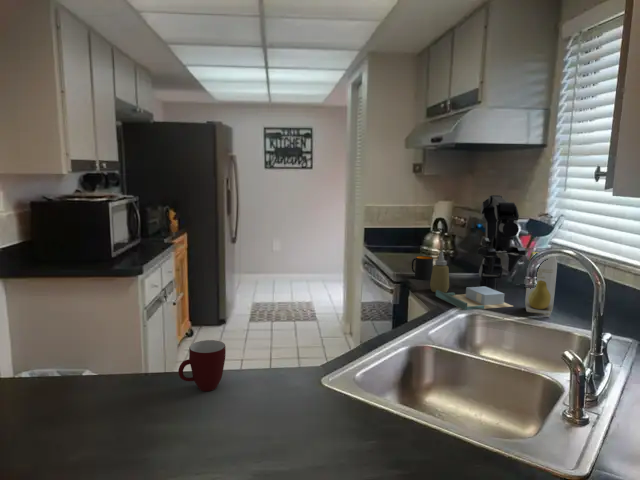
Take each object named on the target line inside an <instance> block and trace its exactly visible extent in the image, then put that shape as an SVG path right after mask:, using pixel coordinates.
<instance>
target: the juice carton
mask: <svg viewBox="0 0 640 480" xmlns="http://www.w3.org/2000/svg"><path fill="white" fill-rule="evenodd" d="M536 253H539V252H537V251H531V253H530V255H529V259H528V262H529V261H530V259H531V258H532V257H533V256H534V255H535V254H536ZM557 270H558V257H557V256H556V257H554V258H550V259H548V260H546V261H544V262H543V263H542V264H541V265H540V267H539V269H538V272H537V285H536V287H535V288H531V289H530V288H526V287H525V297H524V304H525V310H526V312H527V313H531V314H532V313H534V316H537V317H545V318H550V317H551V314H552V311H553V309H554V302H555V301H554V300H555V292H556V284H557V283H556V281H557V274H558V273H557Z"/></svg>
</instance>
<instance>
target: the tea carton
mask: <svg viewBox="0 0 640 480" xmlns="http://www.w3.org/2000/svg"><path fill="white" fill-rule="evenodd" d="M465 294H466V297H467V298H469V299H471V300H474V301H476V302H478V303H480V304H483V305H493V304H504V303H505V296H506V295H505V294H506V293H503V292H501V291H498V290H497V289H495V290H493V289H491V288H488V287H485V286H483V287H480V286H468V287H465Z"/></svg>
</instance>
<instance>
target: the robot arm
mask: <svg viewBox="0 0 640 480" xmlns="http://www.w3.org/2000/svg"><path fill="white" fill-rule="evenodd" d="M480 214H481V219H482V220H483V223H485V237H483V238H482V240H481V245H482V246H480V247H479V248H478V249H477V251H478V252H477V254H478V255H480V256H481V257H482V258H483V259H482V261H481V264H480V266H479V270H478V276H479V277H480V283H479V287H483V286H485V287H488V288H491V289H493V290H497V289H498V279H501V278H502V274H503V272H504V271H503V270H504V268H503V265H502V259H501V257H499V256H498V254H506V255H507V257H508V265H507V267H508V269H507V270H508V272H509V273H511V272H512V271H513V269H514V268H515V266H516V264H517V263H518V262H519V260H520V259H521V258H522V257H523V256H526V251H527V250H526V249H525V247H523V246H519V245H511V240H514V237H515V236H517V234H518V233H519V226H518V224H517V223H516V222H515V221H518V220H519V217H520V215H519V210H518V208H517V205H516V203H515V202H512V201H506V200H505V199H504V198H503V196H502V195H501V194H498V195H496V194H495V195H494V194H491V195H489V197H488V198H486V200H484V201H483V202H482V204H481V206H480Z"/></svg>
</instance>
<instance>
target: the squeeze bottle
mask: <svg viewBox="0 0 640 480" xmlns="http://www.w3.org/2000/svg"><path fill="white" fill-rule="evenodd" d="M444 257H445V256H444V252H443V251H439V256H438V259H436V260H435V264H433V269H432V275H431V280H429V281H430V282H429V286H430V287H429V288H430V290H431V292H432V293H436V290H439V291H442V292H444V293H448V291H449V288H450V271H449V266H448V264H447V262H448V261H447V260H445V258H444Z"/></svg>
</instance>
